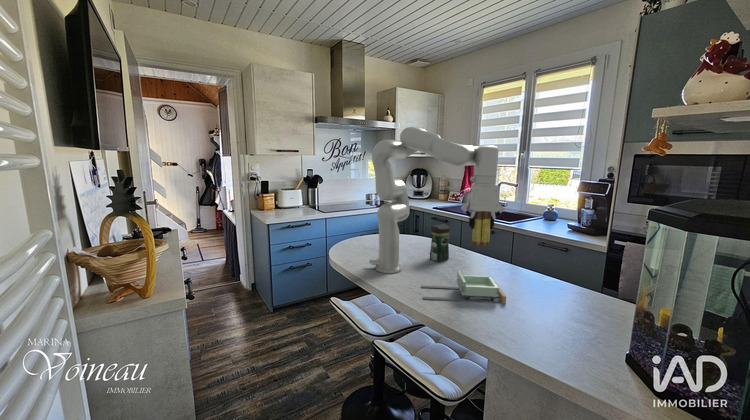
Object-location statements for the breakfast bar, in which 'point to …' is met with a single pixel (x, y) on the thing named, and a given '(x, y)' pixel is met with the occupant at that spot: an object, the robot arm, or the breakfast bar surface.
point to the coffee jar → (440, 242)
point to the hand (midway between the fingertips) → (481, 227)
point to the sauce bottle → (481, 229)
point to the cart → (477, 286)
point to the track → (500, 295)
